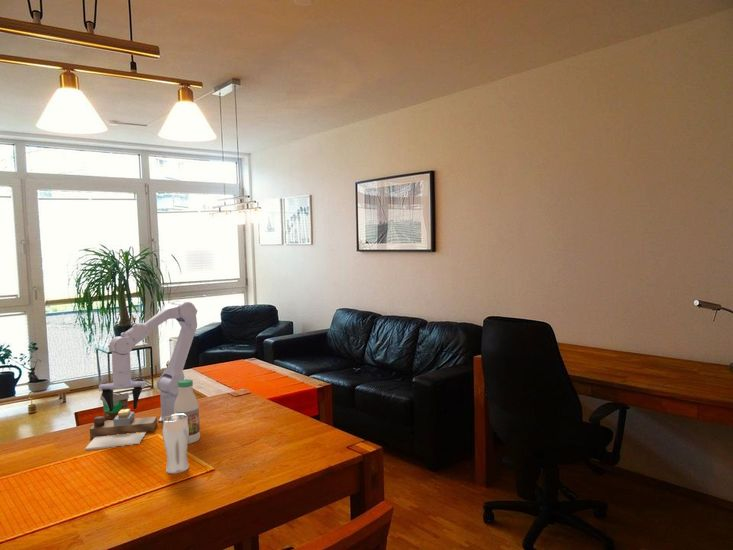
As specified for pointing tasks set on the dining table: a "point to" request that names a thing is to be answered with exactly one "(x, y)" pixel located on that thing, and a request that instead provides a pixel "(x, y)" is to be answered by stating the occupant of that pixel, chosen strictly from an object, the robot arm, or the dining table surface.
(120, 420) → the lever cap
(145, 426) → the body
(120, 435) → the rubber mat
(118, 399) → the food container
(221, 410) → the dining table surface
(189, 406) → the milk bottle
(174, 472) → the beer glass
